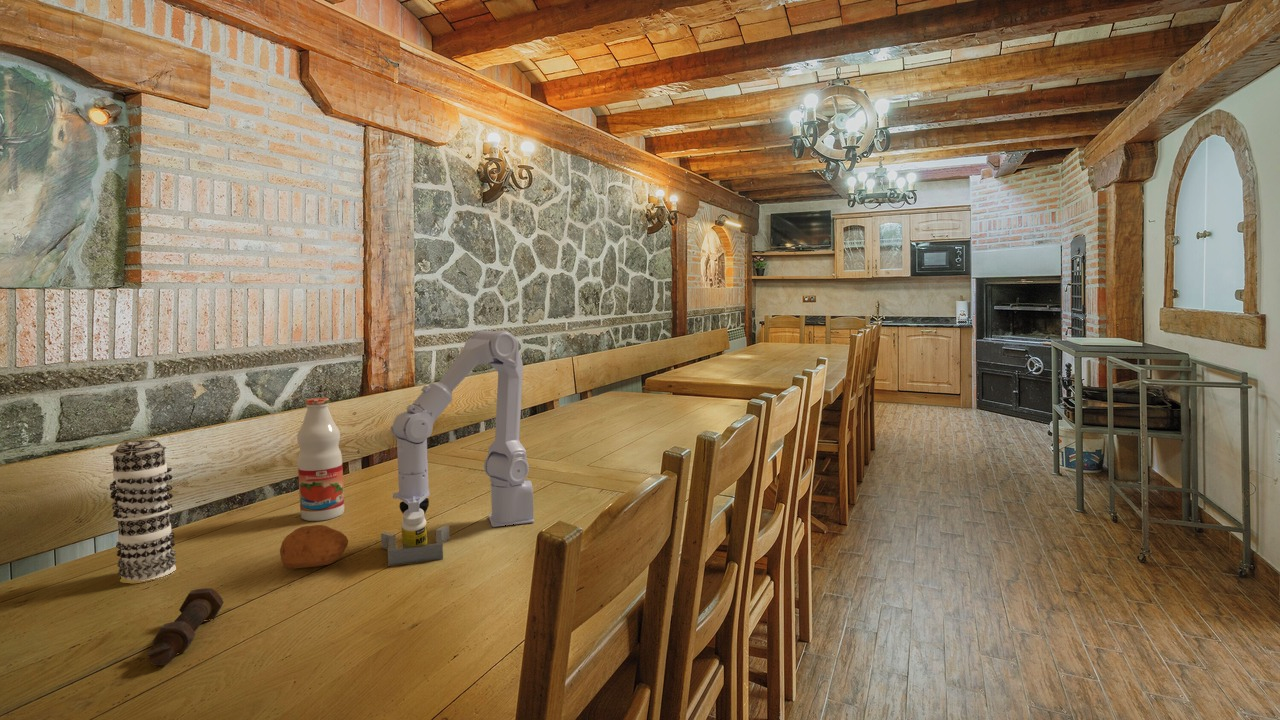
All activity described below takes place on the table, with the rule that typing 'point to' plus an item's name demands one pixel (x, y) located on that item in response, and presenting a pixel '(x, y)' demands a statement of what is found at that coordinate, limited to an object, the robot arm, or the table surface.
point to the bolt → (184, 625)
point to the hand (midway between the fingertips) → (415, 536)
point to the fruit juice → (320, 464)
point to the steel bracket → (414, 549)
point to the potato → (312, 547)
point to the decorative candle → (142, 510)
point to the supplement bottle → (414, 529)
